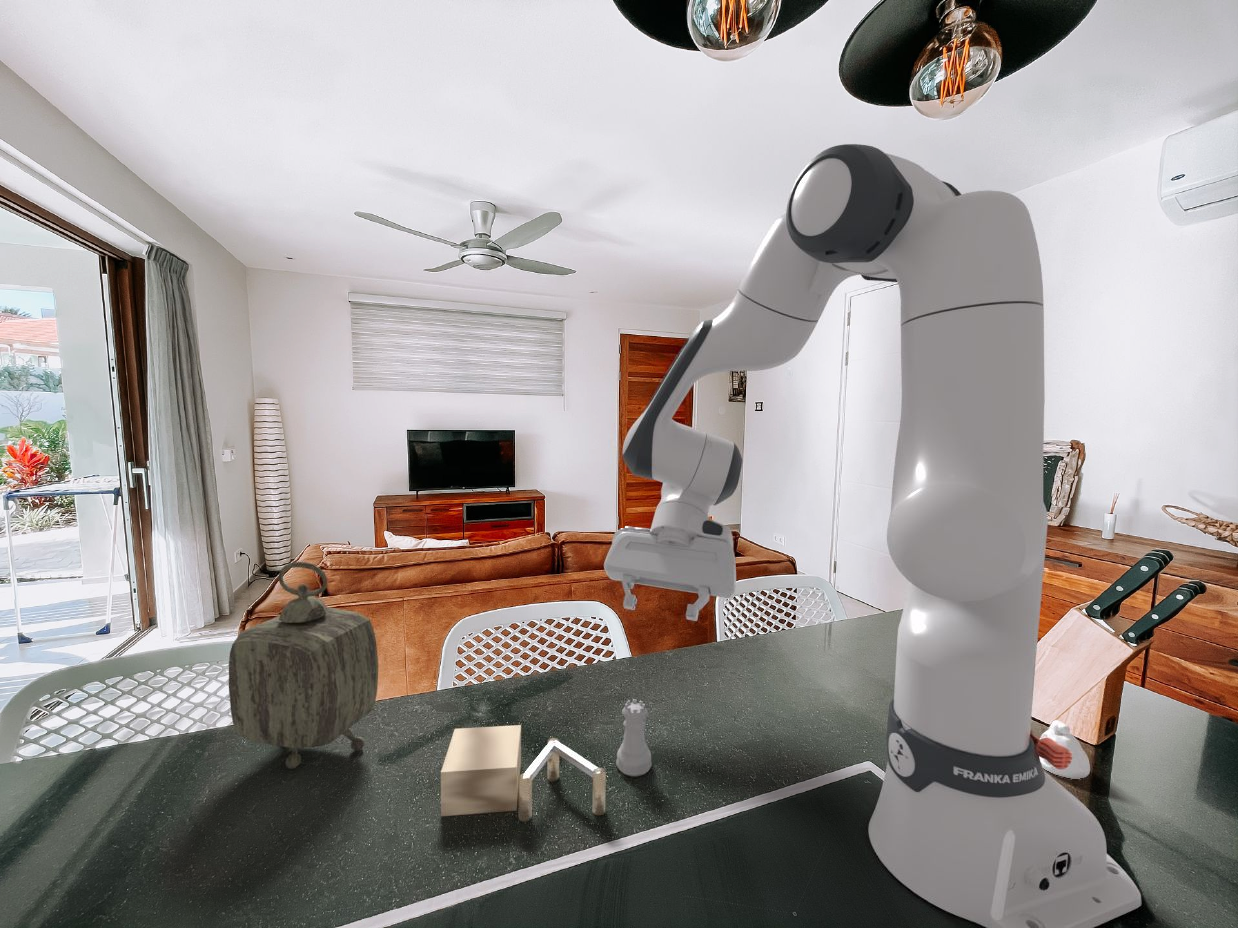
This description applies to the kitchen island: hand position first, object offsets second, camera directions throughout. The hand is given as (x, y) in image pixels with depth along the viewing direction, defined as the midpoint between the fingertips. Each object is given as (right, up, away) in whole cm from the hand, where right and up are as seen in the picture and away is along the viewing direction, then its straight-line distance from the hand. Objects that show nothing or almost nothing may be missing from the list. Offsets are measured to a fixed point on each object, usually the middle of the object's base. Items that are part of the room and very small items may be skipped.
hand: (659, 613), depth 75 cm
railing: (-13, -16, -16) cm, 26 cm away
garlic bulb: (+50, -17, -10) cm, 54 cm away
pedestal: (-22, -16, -15) cm, 31 cm away
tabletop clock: (-45, -16, -10) cm, 49 cm away
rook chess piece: (-4, -16, -11) cm, 20 cm away
